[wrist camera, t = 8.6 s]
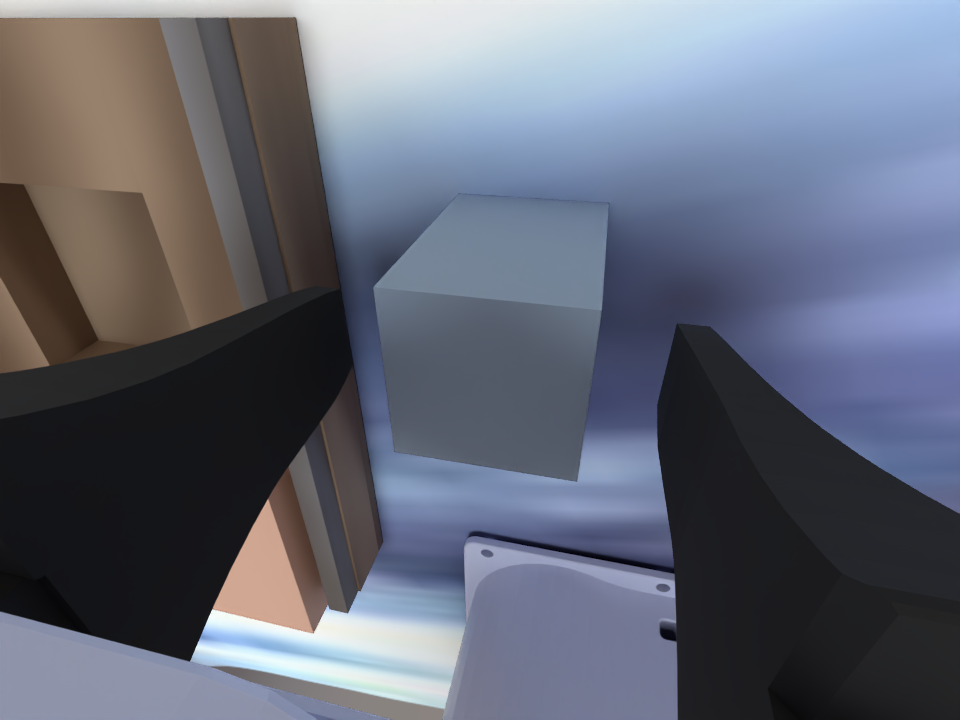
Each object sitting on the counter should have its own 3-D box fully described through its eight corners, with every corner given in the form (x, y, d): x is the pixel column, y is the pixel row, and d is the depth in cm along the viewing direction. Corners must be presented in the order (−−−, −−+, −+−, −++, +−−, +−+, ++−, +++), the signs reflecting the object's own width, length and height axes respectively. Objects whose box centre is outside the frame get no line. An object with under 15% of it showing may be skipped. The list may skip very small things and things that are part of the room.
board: (295, 17, 13) (199, 18, 10) (382, 541, 24) (350, 613, 21) (-138, 18, 15) (-313, 19, 12) (124, 490, 26) (63, 547, 23)
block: (609, 202, 13) (601, 310, 8) (591, 335, 16) (577, 481, 11) (459, 193, 14) (372, 287, 9) (462, 321, 16) (394, 451, 11)
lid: (286, 445, 17) (261, 478, 16) (330, 599, 22) (313, 633, 21) (22, 401, 19) (-19, 426, 18) (115, 551, 24) (89, 579, 23)
